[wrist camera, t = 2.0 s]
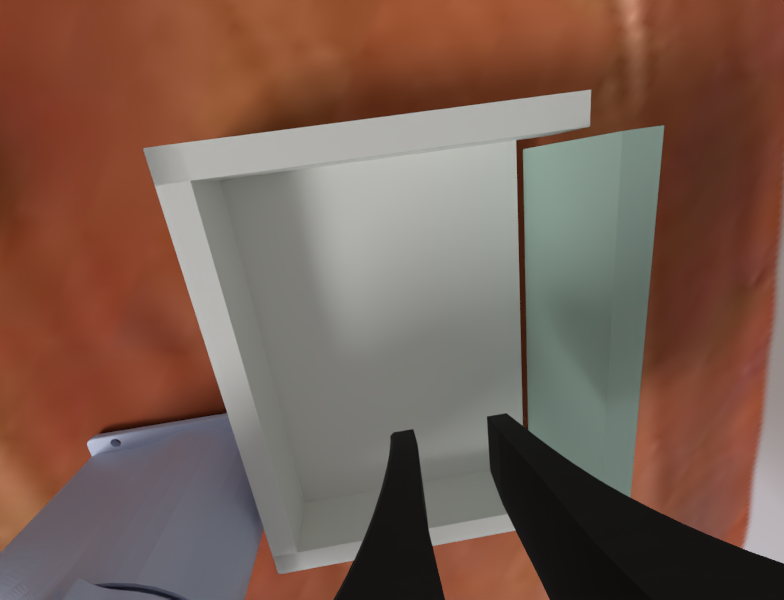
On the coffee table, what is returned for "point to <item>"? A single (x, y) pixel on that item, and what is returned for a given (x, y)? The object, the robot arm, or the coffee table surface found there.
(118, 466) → the robot arm
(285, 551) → the grey open tray
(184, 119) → the coffee table surface
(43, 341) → the coffee table surface
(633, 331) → the panel
